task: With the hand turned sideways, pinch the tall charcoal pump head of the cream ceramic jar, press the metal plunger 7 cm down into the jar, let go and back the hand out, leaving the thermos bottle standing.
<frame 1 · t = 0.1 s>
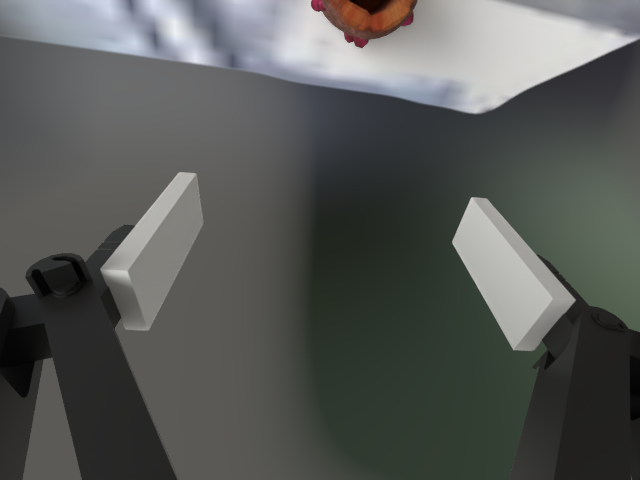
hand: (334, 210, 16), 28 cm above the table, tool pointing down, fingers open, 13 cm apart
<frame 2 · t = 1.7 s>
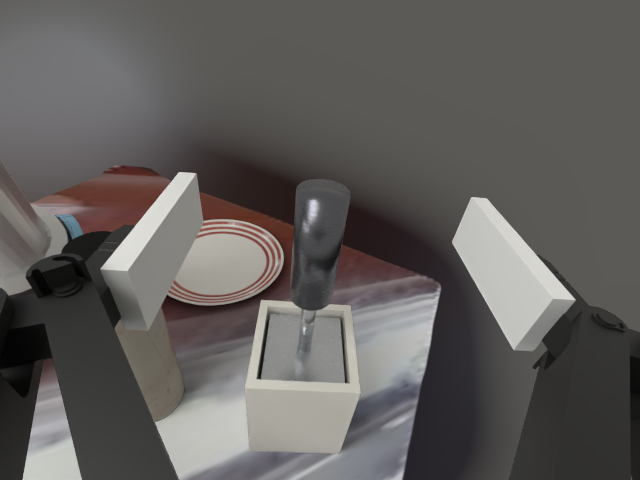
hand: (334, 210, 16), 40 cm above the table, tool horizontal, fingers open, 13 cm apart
thermos bottle: (155, 395, 46), on the table
plunger: (311, 287, 32), point 25 cm above the table, slide at 0.0 cm
jar: (297, 406, 47), on the table
dinner plate: (220, 266, 70), on the table
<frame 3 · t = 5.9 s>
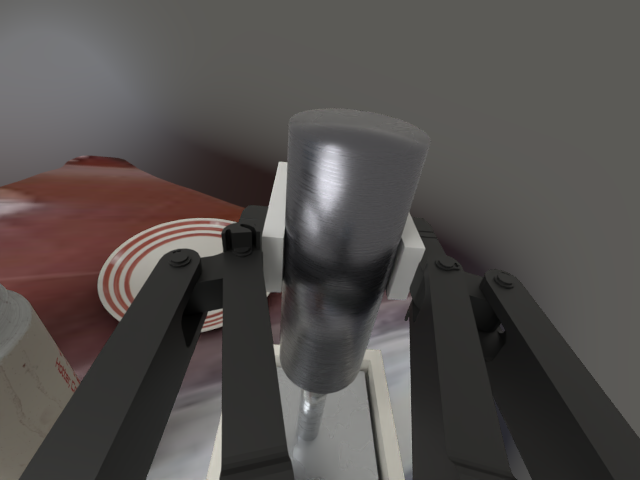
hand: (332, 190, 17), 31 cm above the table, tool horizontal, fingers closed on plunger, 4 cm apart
plunger: (322, 342, 16), point 25 cm above the table, slide at 0.0 cm, touching gripper
dinner plate: (198, 277, 54), on the table
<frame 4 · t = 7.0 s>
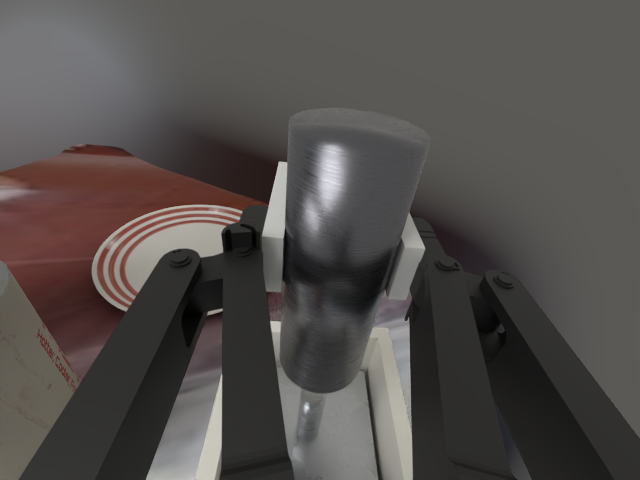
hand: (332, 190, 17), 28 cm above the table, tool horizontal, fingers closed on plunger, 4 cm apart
thermos bottle: (69, 470, 29), on the table
plunger: (322, 341, 16), point 22 cm above the table, slide at 3.0 cm, touching gripper
dinner plate: (196, 264, 53), on the table
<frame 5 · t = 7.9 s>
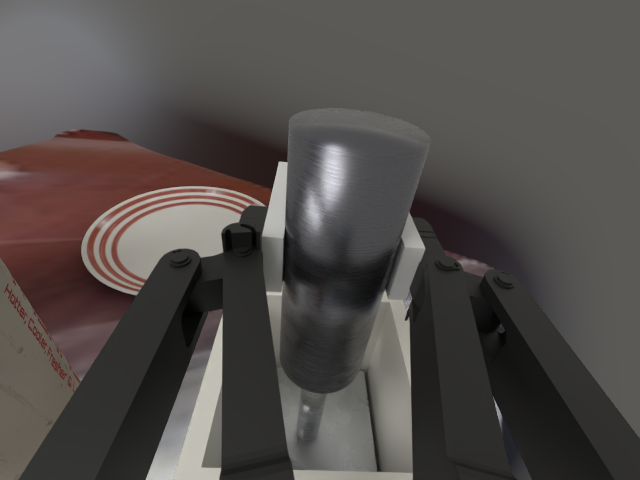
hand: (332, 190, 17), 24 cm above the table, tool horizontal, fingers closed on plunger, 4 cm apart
thermos bottle: (52, 453, 27), on the table
plunger: (322, 342, 16), point 18 cm above the table, slide at 6.9 cm, touching gripper
jar: (300, 470, 27), on the table
dinner plate: (192, 245, 50), on the table
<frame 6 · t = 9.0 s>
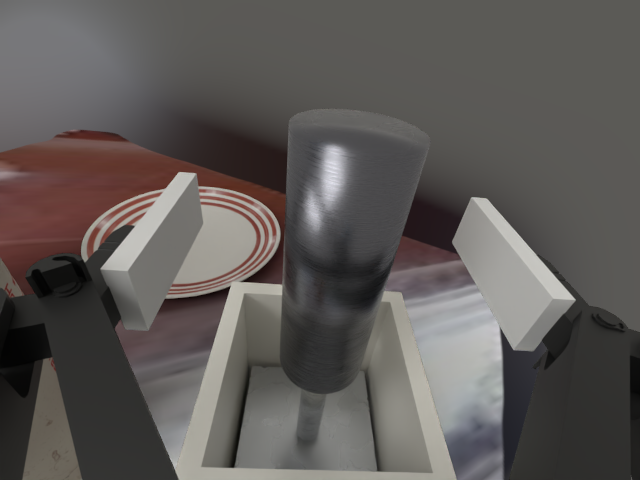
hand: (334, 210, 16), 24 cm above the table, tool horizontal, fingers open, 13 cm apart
thermos bottle: (51, 454, 26), on the table
plunger: (322, 342, 16), point 18 cm above the table, slide at 7.0 cm
jar: (300, 470, 27), on the table
dinner plate: (192, 245, 50), on the table
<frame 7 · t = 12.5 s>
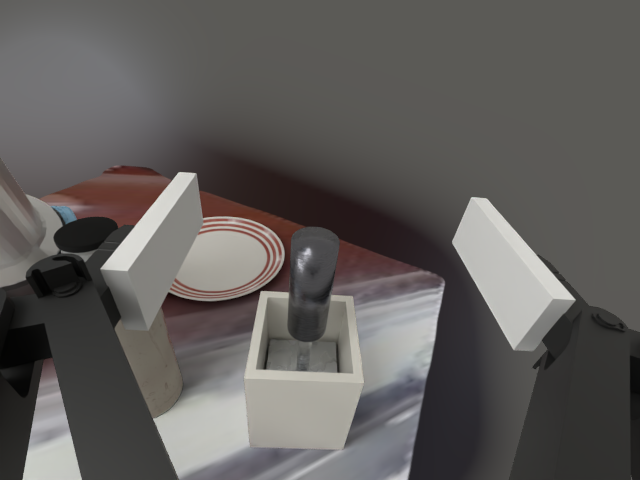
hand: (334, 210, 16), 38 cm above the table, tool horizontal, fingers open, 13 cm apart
thermos bottle: (153, 392, 45), on the table
plunger: (307, 320, 35), point 18 cm above the table, slide at 7.0 cm
jar: (298, 402, 46), on the table
dinner plate: (220, 262, 69), on the table
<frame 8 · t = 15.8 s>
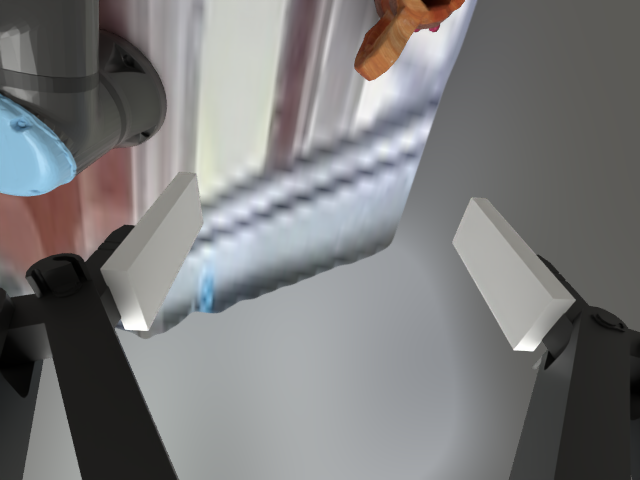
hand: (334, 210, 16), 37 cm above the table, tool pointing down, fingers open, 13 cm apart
mug: (388, 8, 41), on the table
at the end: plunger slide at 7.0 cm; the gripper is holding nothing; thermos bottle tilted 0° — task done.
